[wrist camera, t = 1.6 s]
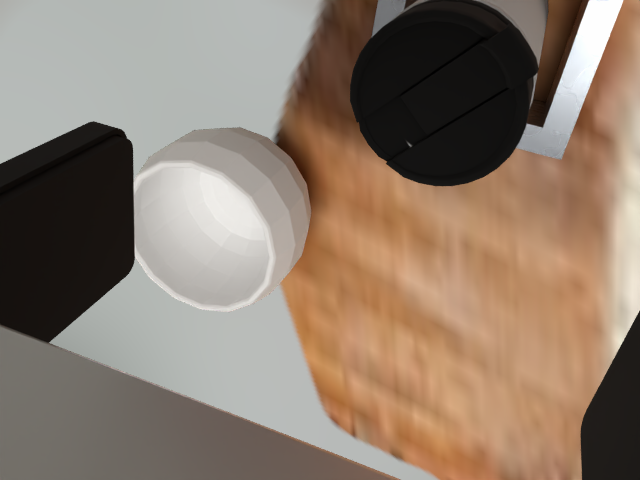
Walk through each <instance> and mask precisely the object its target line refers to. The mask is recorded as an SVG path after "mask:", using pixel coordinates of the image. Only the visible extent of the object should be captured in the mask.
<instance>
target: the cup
mask: <svg viewBox="0 0 640 480" xmlns="http://www.w3.org/2000/svg"><path fill="white" fill-rule="evenodd" d="M133 182H134V240H135V258H136V259H137V260H138V262H139V263H140V265H141V266H142V267H143V269H144V270H145V272H146V273H147V275H148V276H149V278H150V279H151V280H153V281H154V282H155V283H156V284H158V285H159V286H160V287H161V288H163V289H164V290H165V291H166V292H167V293H169V294H170V295H171V296H172V297H173V298H175V299H178V300H180V301H183V302H184V303H187V304H189V305H191V306H194V307H196V308H198V309H201V310H213V311H226V312H230V311H233V310H236V309H239V308H241V307H244V306H247V305H250V304H253V303H255V302H257V301H258V300H260V299H262V298H263V297H265V296H267V295H268V294H270V293H271V292H272V291H273V290H274V289H275V288H276V287H277V285H278V284H279V283H280V282H281V281H282V280H283V279H284V278H285V277H286V276H287V274H288V273H289V272H290V271H291V269H292V268H293V267H294V265H295V264H296V262H297V261H298V260H299V258H300V257H301V256H302V253H303V249H304V245H305V241H306V237H307V233H308V229H309V224H310V218H311V206H310V200H309V194H308V188H307V184H306V182H305V180H304V179H303V177H302V175H301V173H300V172H299V170H298V168H297V167H296V165H295V163H294V161H293V160H292V158H291V157H290V156H289V155H287V154H286V153H285V152H284V151H283V150H282V149H280V148H279V147H278V146H277V145H276V144H275V143H273V142H272V141H271V140H270V139H268V138H267V137H264V136H262V135H259V134H256V133H253V132H251V131H248V130H245V129H243V128H220V129H204V130H194V131H192V132H190V133H188V134H187V135H185V136H183V137H181V138H180V139H178V140H177V141H175V142H173V143H171V144H169V145H168V146H166V147H165V148H163V149H161V150H160V151H158V152H157V153H155V154H153V155H152V156H150V157H149V158H148V160H147V161H146V163H145V164H144V165H143V167H142V168H141V170H140V171H139V173H138V174H137V176H136V178H135V179H134V181H133Z"/></svg>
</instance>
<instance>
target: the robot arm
mask: <svg viewBox="0 0 640 480" xmlns="http://www.w3.org/2000/svg"><path fill="white" fill-rule="evenodd" d="M134 260H135V240H134V182H133V146H132V143H131V141H130V140H128V139H127V137H126V135H125V132H124V131H122V130H121V129H118V128H115V127H111V126H108V125H104V124H101V123H97V122H89V123H87V124H85V125H83V126H81V127H78V128H76V129H74V130H72V131H70V132H68V133H66V134H63V135H61V136H59V137H57V138H55V139H53V140H51V141H49V142H46V143H44V144H42V145H40V146H38V147H36V148H33V149H31V150H29V151H27V152H25V153H23V154H21V155H18V156H16V157H14V158H12V159H10V160H8V161H6V162H3V163H1V164H0V480H400V479H397V478H395V477H393V476H390V475H387V474H385V473H382V472H380V471H377V470H375V469H372V468H370V467H367V466H365V465H362V464H359V463H357V462H354V461H352V460H349V459H347V458H344V457H342V456H339V455H337V454H334V453H332V452H329V451H326V450H324V449H321V448H319V447H316V446H314V445H311V444H309V443H306V442H303V441H301V440H298V439H295V438H293V437H291V436H288V435H286V434H283V433H280V432H278V431H275V430H273V429H270V428H268V427H265V426H262V425H260V424H257V423H255V422H252V421H250V420H247V419H244V418H242V417H239V416H237V415H234V414H231V413H229V412H226V411H224V410H221V409H219V408H216V407H213V406H211V405H208V404H206V403H203V402H201V401H198V400H195V399H193V398H190V397H187V396H185V395H182V394H180V393H177V392H174V391H172V390H169V389H167V388H164V387H162V386H159V385H157V384H154V383H151V382H148V381H146V380H144V379H141V378H138V377H136V376H133V375H131V374H128V373H125V372H123V371H120V370H118V369H115V368H112V367H110V366H107V365H105V364H102V363H99V362H97V361H94V360H92V359H89V358H86V357H84V356H81V355H79V354H76V353H73V352H71V351H68V350H66V349H63V348H60V347H58V346H55V345H52V344H50V343H49V342H50V341H51V340H52V339H53V338H54V337H56V336H57V335H58V334H59V333H61V332H62V331H63V330H64V329H65V328H66V327H68V326H69V325H70V324H71V323H72V322H73V321H74V320H76V319H77V318H78V317H79V316H80V315H81V314H83V313H84V312H85V311H86V310H87V309H89V308H90V307H91V306H92V305H93V304H94V303H95V302H97V301H98V300H99V299H100V298H101V297H103V296H104V295H105V294H106V293H107V292H108V291H110V290H111V289H112V288H113V287H114V286H115V285H116V284H118V283H119V282H120V281H121V280H122V279H124V278H125V277H126V276H127V275H128V274H129V272H130V271H131V269H132V267H133V264H134ZM581 460H582V480H640V311H639V313H638V315H637V317H636V319H635V320H634V322H633V324H632V326H631V328H630V330H629V332H628V334H627V335H626V337H625V339H624V341H623V343H622V345H621V347H620V349H619V350H618V352H617V354H616V356H615V358H614V360H613V362H612V364H611V365H610V367H609V369H608V371H607V373H606V375H605V377H604V379H603V380H602V382H601V384H600V386H599V388H598V390H597V392H596V394H595V395H594V397H593V399H592V401H591V403H590V405H589V407H588V409H587V410H586V413H585V415H584V418H583V421H582V426H581Z"/></svg>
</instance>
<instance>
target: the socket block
mask: <svg viewBox="0 0 640 480" xmlns="http://www.w3.org/2000/svg"><path fill="white" fill-rule="evenodd" d="M416 1H418V0H378V5H377V11H376V16H375V21H374V27H373V32H372V37H373V36H374V35H375V34H376V33H377V32H378V31H379V30H380V29H381V28H382V27H383V26H385V25H386V24H388V23H389V22H390V21H392V20H393V19H394V18H395V17H396V16H397V15H398V14H399V13H400V12H402V11H403V10H405V9H406V8H408V7H409V6H410V5H412V4H413V3H415V2H416ZM622 2H623V0H582V3H581V5H580V8H579V11H578V14H577V17H576V20H575V22H574V25H573V28H572V31H571V34H570V36H569V39H568V42H567V45H566V48H565V50H564V53H563V56H562V59H561V62H560V64H559V67H558V70H557V73H556V76H555V78H554V81H553V84H552V87H551V90H550V92H549V95H548V98H547V101H546V103H545V102H541V101H537V100H533V101H532V104H531V106H530V109H529V114H528V119H527V125H526V128H525V130H524V133H523V135H522V138H521V140H520V142H519V144H518V145H517V147H516V148H519V149H522V150H526V151H530V152H534V153H537V154H541V155H545V156H549V157H553V158H556V159H560V160H561V158H562V156H563V153H564V151H565V148H566V146H567V143H568V141H569V138H570V135H571V133H572V130H573V128H574V125H575V123H576V120H577V118H578V115H579V112H580V110H581V107H582V105H583V102H584V100H585V97H586V94H587V92H588V89H589V87H590V84H591V82H592V79H593V77H594V74H595V71H596V69H597V66H598V64H599V61H600V59H601V56H602V54H603V51H604V48H605V46H606V43H607V41H608V38H609V36H610V33H611V30H612V28H613V25H614V23H615V20H616V18H617V15H618V13H619V10H620V7H621V5H622ZM372 37H371V38H372Z"/></svg>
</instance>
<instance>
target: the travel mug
mask: <svg viewBox="0 0 640 480" xmlns="http://www.w3.org/2000/svg"><path fill="white" fill-rule="evenodd" d="M547 17H548V0H418V1H416V2H415V3H413V4H412V5H410V6H409V7H408V8H406V9H405V10H403V11H402V12H400V13H399V14H398V15H397V16H396V17H395V18H394V19H393V20H392V21H390V22H389V23H388V24H386V25H385V26H383V27H382V28H381V29H380V30H379V31H378V32H377V33H376V34H375V35H374V36H373V37H372V38H370V40H369V41H368V43H367V44H366V45H365V47H364V48H363V50H362V51H361V53H360V55H359V57H358V59H357V62H356V64H355V67H354V69H353V74H352V79H351V84H350V102H351V105H352V108H353V112H354V115H355V118H356V121H357V123H358V122H359V126H360V131H361V133H362V134H363V136H364V138H365V140H366V141H367V143H368V145H369V146H370V147H371V148H372V149H373V151H374V152H375V153H376V154H377V155H378V156H379V157H380V158H382V159H384V160H385V161H387V163H386V164H387V165H388V166H390V167H391V168H392V169H394V170H395V171H396V172H398V173H399V174H400V175H402V176H403V177H404V178H407V179H410V180H412V181H415V182H418V183H422V184H427V185H433V186H455V185H460V184H466V183H469V182H472V181H475V180H477V179H480V178H482V177H484V176H486V175H488V174H489V173H491V172H492V171H494V170H495V169H497V168H498V167H499V166H500V165H501V164H502V163H503V162H505V161H506V160H507V159H508V158H509V157H510V155H511V154H512V153H513V151H514V150H515V148H516V147H517V145H518V144H519V142H520V140H521V138H522V135H523V133H524V130H525V128H526V125H527V119H528V114H529V109H530V106H531V104H532V101H533V96H534V90H535V85H536V79H537V74H538V69H539V62H540V57H541V51H542V45H543V40H544V34H545V28H546V22H547Z"/></svg>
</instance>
